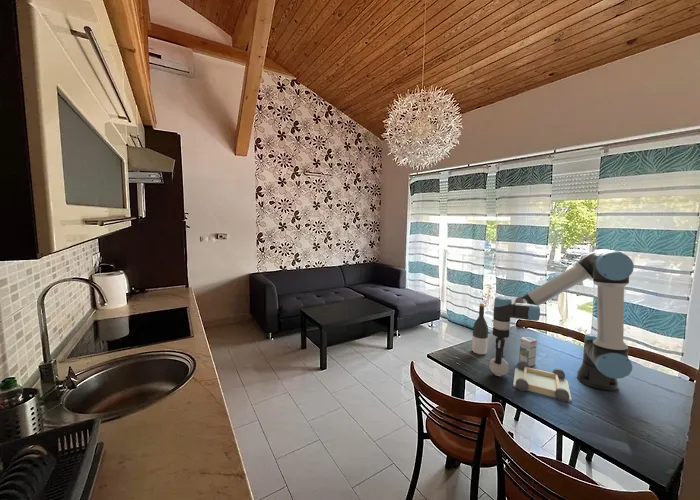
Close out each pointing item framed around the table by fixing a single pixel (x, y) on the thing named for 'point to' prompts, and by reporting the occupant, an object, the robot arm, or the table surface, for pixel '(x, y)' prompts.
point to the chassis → (542, 382)
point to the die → (499, 367)
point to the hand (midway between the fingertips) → (498, 372)
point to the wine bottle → (480, 333)
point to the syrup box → (528, 350)
